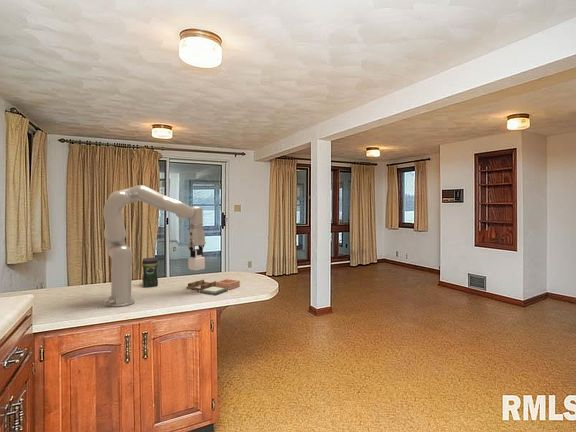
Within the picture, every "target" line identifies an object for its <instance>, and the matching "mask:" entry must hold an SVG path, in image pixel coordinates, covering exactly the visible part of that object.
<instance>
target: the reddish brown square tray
mask: <svg viewBox="0 0 576 432" xmlns="http://www.w3.org/2000/svg"><path fill="white" fill-rule="evenodd" d="M216 281H217V280H216ZM240 282H241V281H240V280H239V279H238V280H237V279H231V278H230V279H229V278H225V279H222V280H218V281H217V282H216V286H215V287H219V288H226V289H228V291H232V290H234V289H237V288H239V287H240V285H241V283H240Z"/></svg>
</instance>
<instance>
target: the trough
mask: <svg viewBox="0 0 576 432" xmlns="http://www.w3.org/2000/svg"><path fill="white" fill-rule="evenodd" d="M216 282H217V280H215V281H211V282H210V281H209V282H208V281H205V279H200V280H196V281H193V282H189V283H187V286H185V289H186V290H192V291H199V292H200V290H203V289H206V288H210V287H216Z"/></svg>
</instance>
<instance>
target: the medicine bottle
mask: <svg viewBox="0 0 576 432" xmlns="http://www.w3.org/2000/svg"><path fill="white" fill-rule="evenodd" d="M194 251H195V257H190V256H189V257H188V260H187V261H188V263H187V265H188V267H187V268H188V270H191V271H201V270H205V269H206V259H205V258H206V257H204V256H202V250H200V249H199V248H195V250H194Z"/></svg>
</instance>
